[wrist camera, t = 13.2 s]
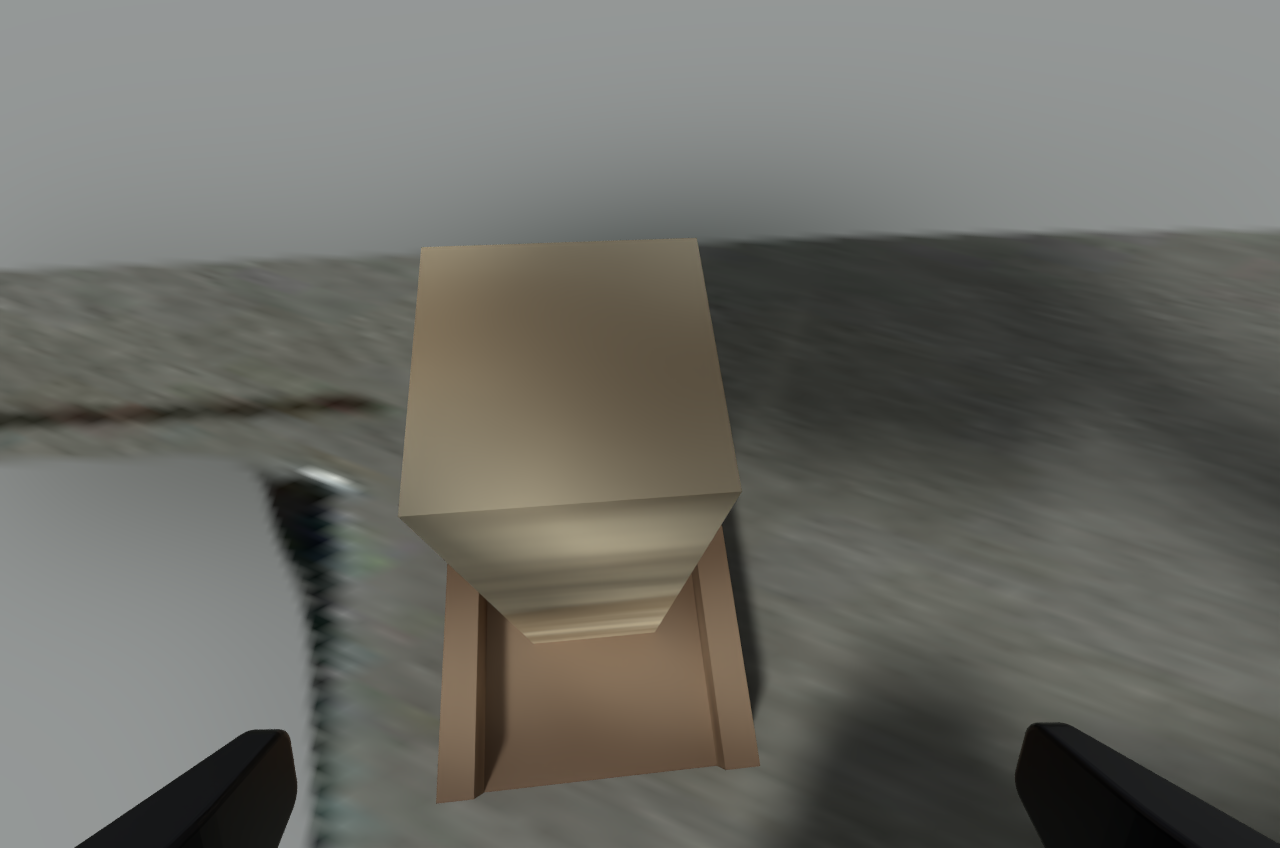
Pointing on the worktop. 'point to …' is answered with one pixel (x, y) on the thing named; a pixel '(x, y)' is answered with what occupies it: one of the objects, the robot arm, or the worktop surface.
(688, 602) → the walnut rack
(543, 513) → the birch peg
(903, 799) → the worktop surface
